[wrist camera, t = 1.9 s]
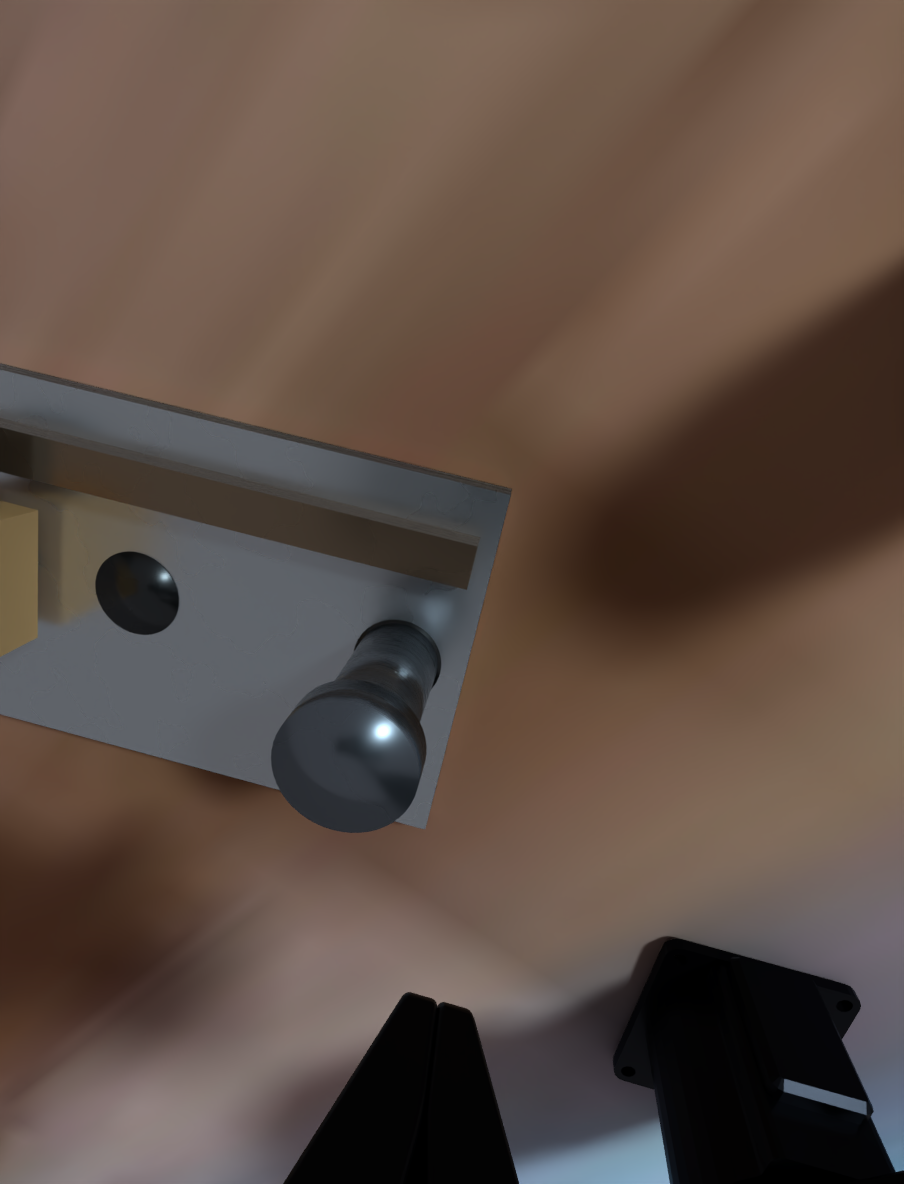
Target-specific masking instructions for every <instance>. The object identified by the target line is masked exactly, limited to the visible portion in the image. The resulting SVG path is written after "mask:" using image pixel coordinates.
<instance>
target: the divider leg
mask: <svg viewBox="0 0 904 1184" xmlns="http://www.w3.org/2000/svg"><path fill="white" fill-rule="evenodd" d="M36 638H38V510H35V509H31V508H28V507H24V506H20V505H16V504H12V503H8V502H4V501H0V657H1V656H3V655H5V654H7V653H9V652H11V651H13V650H14V649H16V648H18V647H20V646H22V645H24V644H26V643H28V642H30V641H32V640H34V639H36Z"/></svg>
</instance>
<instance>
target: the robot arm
mask: <svg viewBox="0 0 904 1184" xmlns="http://www.w3.org/2000/svg"><path fill="white" fill-rule="evenodd" d="M675 955H681V956H675ZM860 1007H861V1004H860V1001H859V999H858V997H857V995H856V993H855V991H854V990H853V989H852V988H851V987H850V986H848V985H846V984H842V983H839V982H835V981H831V980H828V979H824V978H821V977H817V976H813V975H810V974H806V973H802V972H799V971H795V970H791V969H788V968H784V967H780V966H777V965H773V964H769V963H766V962H762V961H759V960H755V959H751V958H748V957H744V956H740V955H737V954H733V953H729V952H726V951H722V950H718V949H715V948H711V947H708V946H704V945H700V944H697V943H693V942H689V941H686V940H682V939H672V940H669V941H667V942H665V944H664V945H663V946H662V948H661V951H660V953H659V955H658V957H657V960H656V962H655V964H654V967H653V969H652V971H651V973H650V976H649V978H648V980H647V982H646V985H645V987H644V989H643V991H642V994H641V996H640V998H639V1000H638V1003H637V1005H636V1007H635V1009H634V1012H633V1014H632V1016H631V1018H630V1021H629V1023H628V1025H627V1027H626V1030H625V1032H624V1034H623V1036H622V1039H621V1041H620V1043H619V1045H618V1048H617V1050H616V1052H615V1054H614V1057H613V1065H614V1072H615V1075H616V1076H617V1077H618V1078H619V1079H621V1080H624V1081H627V1082H630V1083H634V1084H637V1085H641V1086H644V1087H648V1088H651V1089H654V1090H655V1096H656V1102H657V1108H658V1114H659V1120H660V1126H661V1132H662V1138H663V1144H664V1150H665V1156H666V1162H667V1168H668V1174H669V1180H670V1184H904V1171H899V1172H896V1171H895V1169H894V1167H893V1165H892V1163H891V1160H890V1158H889V1156H888V1154H887V1152H886V1149H885V1147H884V1145H883V1143H882V1141H881V1138H880V1136H879V1134H878V1132H877V1130H876V1127H875V1125H874V1123H873V1121H872V1118H871V1115H872V1113H873V1112H874V1111H873V1107H872V1104H871V1102H870V1100H869V1098H868V1096H867V1093H866V1091H865V1089H864V1087H863V1085H862V1083H861V1080H860V1078H859V1076H858V1074H857V1072H856V1070H855V1067H854V1065H853V1063H852V1061H851V1059H850V1057H849V1054H848V1052H847V1050H846V1048H845V1046H844V1044H843V1042H842V1038H843V1037H844V1035H845V1033H846V1032H847V1030H848V1028H849V1027H850V1025H851V1024H852V1022H853V1020H854V1019H855V1017H856V1015H857V1014H858V1012H859V1010H860ZM283 1184H519V1181H518V1178H517V1174H516V1170H515V1167H514V1163H513V1159H512V1155H511V1152H510V1148H509V1144H508V1141H507V1137H506V1133H505V1130H504V1126H503V1122H502V1119H501V1115H500V1111H499V1108H498V1104H497V1100H496V1097H495V1093H494V1089H493V1086H492V1082H491V1078H490V1074H489V1071H488V1067H487V1063H486V1060H485V1056H484V1052H483V1049H482V1045H481V1041H480V1038H479V1034H478V1030H477V1027H476V1023H475V1020H474V1017H473V1015H472V1013H471V1012H470V1010H468V1009H466V1008H463V1007H459V1006H456V1005H452V1004H449V1003H446V1002H442V1003H440V1004H439V1005H438V1006H437V1004H436V1002H435V1000H433V999H432V998H428V997H425V996H421V995H418V994H415V993H411V992H408V993H405V994H404V995H403V996H402V997H401V999H400V1000H399V1002H398V1004H397V1005H396V1007H395V1008H394V1010H393V1011H392V1013H391V1015H390V1016H389V1018H388V1019H387V1021H386V1023H385V1024H384V1026H383V1027H382V1029H381V1030H380V1032H379V1034H378V1035H377V1037H376V1038H375V1040H374V1041H373V1043H372V1045H371V1046H370V1048H369V1049H368V1051H367V1053H366V1054H365V1056H364V1057H363V1059H362V1060H361V1062H360V1064H359V1065H358V1067H357V1068H356V1070H355V1071H354V1073H353V1075H352V1076H351V1078H350V1079H349V1081H348V1082H347V1084H346V1086H345V1087H344V1089H343V1090H342V1092H341V1094H340V1095H339V1097H338V1098H337V1100H336V1101H335V1103H334V1105H333V1106H332V1108H331V1109H330V1111H329V1112H328V1114H327V1116H326V1117H325V1119H324V1120H323V1122H322V1123H321V1125H320V1127H319V1128H318V1130H317V1131H316V1133H315V1135H314V1136H313V1138H312V1139H311V1141H310V1142H309V1144H308V1146H307V1147H306V1149H305V1150H304V1152H303V1153H302V1155H301V1157H300V1158H299V1160H298V1161H297V1163H296V1164H295V1166H294V1168H293V1169H292V1171H291V1172H290V1174H289V1176H288V1177H287V1179H286V1180H285V1182H284V1183H283Z"/></svg>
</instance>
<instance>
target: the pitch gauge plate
mask: <svg viewBox="0 0 904 1184" xmlns="http://www.w3.org/2000/svg"><path fill="white" fill-rule="evenodd" d="M511 491H512V489H510V488H506V487H502V486H498V485H494V484H490V483H486V482H482V481H478V480H474V479H470V478H466V477H461V476H457V475H453V474H449V473H445V472H441V471H437V470H433V469H429V468H425V467H421V466H417V465H413V464H408V463H404V462H400V461H396V460H392V459H388V458H384V457H380V456H376V455H372V454H368V453H364V452H360V451H355V450H351V449H347V448H343V447H339V446H335V445H331V444H327V443H323V442H319V441H315V440H311V439H307V438H302V437H298V436H294V435H290V434H286V433H282V432H278V431H274V430H270V429H266V428H262V427H258V426H253V425H249V424H245V423H241V422H237V421H233V420H229V419H225V418H221V417H217V416H213V415H209V414H205V413H200V412H196V411H192V410H188V409H184V408H180V407H176V406H172V405H168V404H164V403H160V402H156V401H152V400H147V399H143V398H139V397H135V396H131V395H127V394H123V393H119V392H115V391H111V390H107V389H103V388H99V387H94V386H90V385H86V384H82V383H78V382H74V381H70V380H66V379H62V378H58V377H54V376H50V375H46V374H41V373H37V372H33V371H29V370H25V369H21V368H17V367H13V366H9V365H5V364H1V363H0V501H4V502H8V503H12V504H16V505H20V506H24V507H28V508H31V509H35V510H38V638H36V639H34V640H32V641H30V642H28V643H26V644H24V645H22V646H20V647H18V648H16V649H14V650H13V651H11V652H9V653H7V654H5V655H3V656H1V657H0V714H1V715H5V716H9V717H12V718H16V719H20V720H23V721H27V722H31V723H35V724H38V725H42V726H46V727H49V728H53V729H57V730H60V731H64V732H68V733H71V734H75V735H79V736H82V737H86V738H90V739H93V740H97V741H101V742H105V743H108V744H112V745H116V746H119V747H123V748H127V749H130V750H134V751H138V752H141V753H145V754H149V755H152V756H156V757H160V758H163V759H167V760H171V761H175V762H178V763H182V764H186V765H189V766H193V767H197V768H200V769H204V770H208V771H211V772H215V773H219V774H222V775H226V776H230V777H233V778H237V779H241V780H245V781H248V782H252V783H256V784H259V785H263V786H267V787H270V788H274V789H278V790H280V791H281V793H282V794H283V796H284V797H285V799H286V800H287V801H288V802H289V803H290V804H291V806H292V807H293V808H295V809H296V810H297V811H298V812H299V813H300V814H302V815H303V816H304V817H306V818H307V819H309V820H311V821H312V822H314V823H316V824H318V825H321V826H323V827H326V828H329V829H332V830H336V831H341V832H350V833H361V832H369V831H373V830H377V829H380V828H382V827H385V826H387V825H389V824H391V823H393V822H394V821H396V822H399V823H403V824H407V825H410V826H414V827H418V828H421V829H425V828H426V824H427V820H428V816H429V812H430V808H431V804H432V800H433V796H434V793H435V789H436V785H437V781H438V777H439V773H440V769H441V765H442V761H443V757H444V753H445V750H446V746H447V742H448V738H449V734H450V730H451V726H452V722H453V718H454V714H455V710H456V707H457V703H458V699H459V695H460V691H461V687H462V683H463V679H464V675H465V671H466V667H467V664H468V660H469V656H470V652H471V648H472V644H473V640H474V636H475V632H476V628H477V624H478V621H479V617H480V613H481V609H482V605H483V601H484V597H485V593H486V589H487V585H488V582H489V578H490V574H491V570H492V566H493V562H494V558H495V554H496V550H497V546H498V542H499V539H500V535H501V531H502V527H503V523H504V519H505V515H506V511H507V507H508V503H509V499H510V496H511Z"/></svg>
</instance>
